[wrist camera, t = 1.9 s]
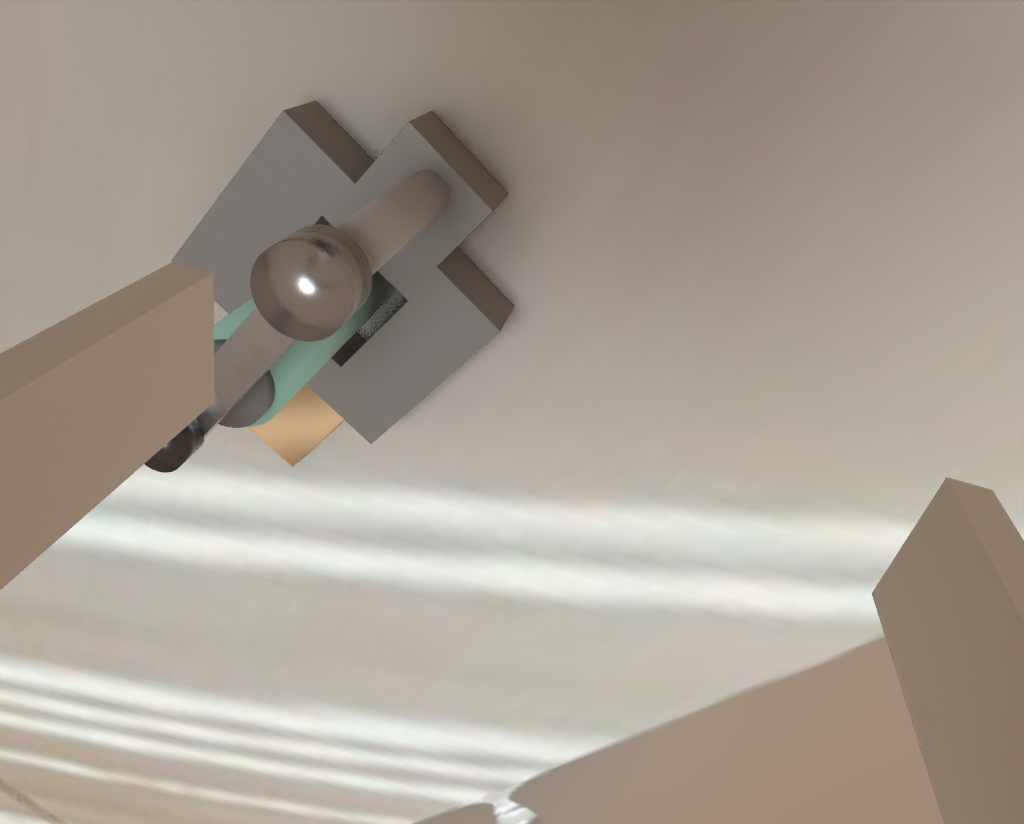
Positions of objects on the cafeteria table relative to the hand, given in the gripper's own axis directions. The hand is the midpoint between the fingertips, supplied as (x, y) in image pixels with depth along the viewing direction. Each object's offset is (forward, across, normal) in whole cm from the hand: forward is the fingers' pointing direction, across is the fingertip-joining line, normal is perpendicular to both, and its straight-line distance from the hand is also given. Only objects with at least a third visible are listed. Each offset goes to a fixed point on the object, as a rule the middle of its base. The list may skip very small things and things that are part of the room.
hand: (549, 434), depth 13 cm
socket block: (+30, -13, -10) cm, 34 cm away
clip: (+14, -12, -8) cm, 20 cm away
